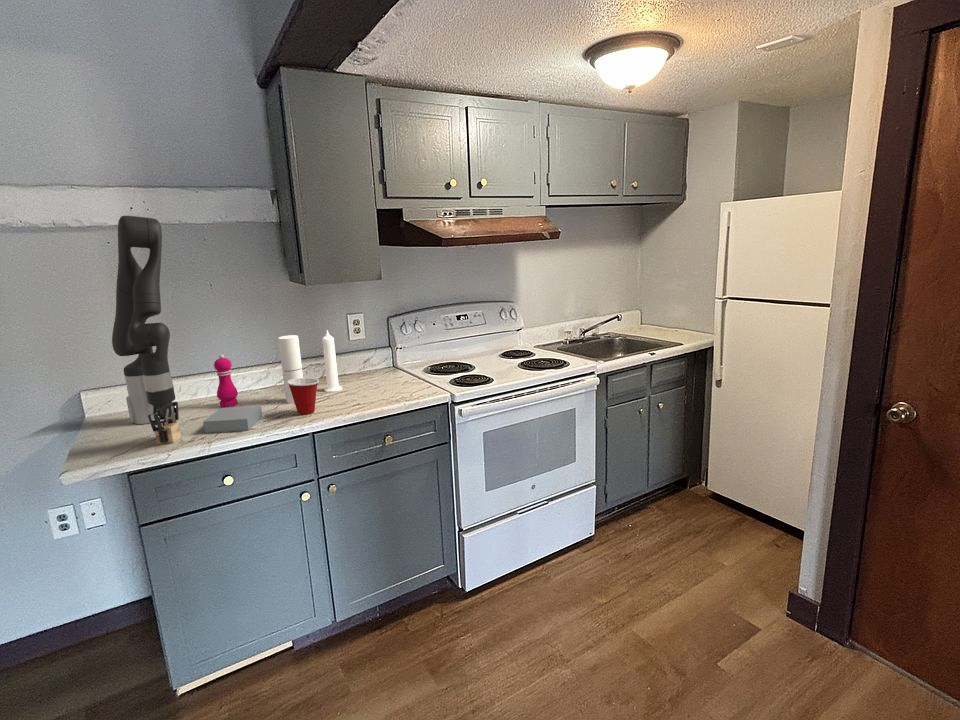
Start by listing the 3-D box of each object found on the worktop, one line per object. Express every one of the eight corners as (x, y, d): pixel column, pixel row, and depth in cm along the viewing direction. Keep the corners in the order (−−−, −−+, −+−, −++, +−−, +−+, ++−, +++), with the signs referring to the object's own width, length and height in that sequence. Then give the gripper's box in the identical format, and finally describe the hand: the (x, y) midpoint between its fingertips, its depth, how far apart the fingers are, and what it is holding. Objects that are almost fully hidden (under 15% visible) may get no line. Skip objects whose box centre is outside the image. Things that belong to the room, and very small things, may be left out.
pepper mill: (231, 408, 200) (223, 356, 196) (214, 407, 202) (206, 356, 197) (243, 402, 207) (235, 352, 203) (226, 401, 209) (219, 352, 204)
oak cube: (157, 444, 167) (154, 428, 166) (165, 438, 172) (162, 423, 171) (173, 443, 167) (170, 427, 166) (181, 437, 172) (178, 422, 171)
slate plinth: (205, 433, 175) (203, 421, 174) (222, 419, 188) (220, 408, 187) (248, 430, 176) (247, 418, 175) (262, 416, 189) (261, 405, 188)
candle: (345, 387, 222) (339, 328, 216) (337, 392, 215) (330, 331, 210) (329, 387, 224) (323, 328, 218) (321, 392, 217) (314, 331, 211)
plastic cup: (326, 413, 190) (322, 380, 187) (295, 419, 185) (290, 385, 182) (318, 405, 199) (314, 374, 197) (288, 411, 194) (284, 379, 191)
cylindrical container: (297, 403, 203) (289, 339, 197) (282, 402, 205) (274, 338, 199) (309, 398, 209) (302, 335, 204) (294, 397, 212) (286, 334, 206)
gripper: (158, 381, 172) (168, 431, 176) (133, 394, 158) (144, 448, 162) (182, 380, 173) (191, 430, 176) (160, 393, 159) (170, 446, 162)
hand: (168, 438), depth 169 cm, fingers closed on oak cube, 5 cm apart
